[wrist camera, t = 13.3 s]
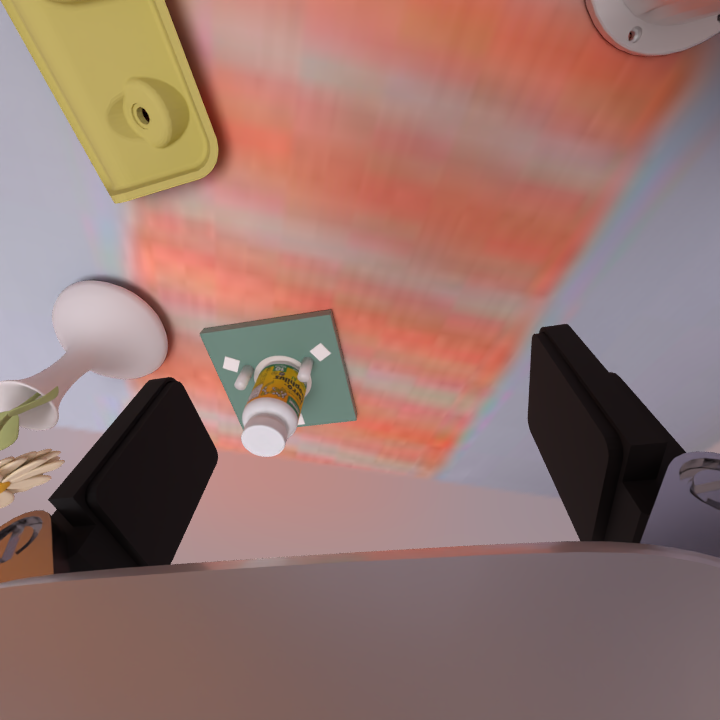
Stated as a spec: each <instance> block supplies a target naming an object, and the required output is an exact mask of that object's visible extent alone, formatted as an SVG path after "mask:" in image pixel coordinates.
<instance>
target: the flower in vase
mask: <svg viewBox="0 0 720 720" xmlns="http://www.w3.org/2000/svg"><path fill="white" fill-rule="evenodd" d="M52 322H53V326H54V330H55V333H56V335H57V338H58V340H59V342H60V344H61V345H62V347H63V348H64V350H65V351H66V353H65V354H64V356H62V357H61V358H60V359H59V360H58V361H57V362H55V363H54V364H53V365H51V366H50V367H48V368H47V369H45V370H43V371H41V372H40V373H38V374H36V375H34V376H31V377H29V378H26V379H22V380H6V381H1V382H0V450H3V449H5V448H7V447H9V446H10V445H12V444H13V443H14V442H15V441H16V439H17V437H18V432H19V426H20V427H23V428H26V429H30V430H37V431H43V430H48V429H51V428H53V427H54V426H55V425H56V424H57V422H58V419H59V413H58V408H59V404H60V402H61V399H62V398H63V396H64V395H65V393H66V392H67V391H68V389H69V388H70V387H71V386H72V385H73V384H74V383H75V382H76V381H77V380H78V379H79V378H80V377H81V376H82V375H84V374H85V373H86V372H88V371H92V372H94V373H97V374H99V375H103V376H106V377H111V378H117V379H136V378H140V377H143V376H146V375H148V374H150V373H152V372H154V371H155V370H157V369H158V368H159V367H160V366H161V365H162V364H163V362H164V360H165V358H166V355H167V351H168V340H167V335H166V332H165V329H164V326H163V324H162V322H161V320H160V318H159V317H158V315H157V314H156V313H155V311H154V310H153V309H152V308H151V307H150V306H149V305H148V304H147V303H146V302H145V301H144V300H143V299H141V298H140V297H139V296H137V295H136V294H134V293H133V292H131V291H129V290H127V289H125V288H123V287H120V286H117V285H114V284H111V283H107V282H103V281H94V280H90V281H81V282H77V283H74V284H72V285H70V286H68V287H66V288H65V289H64V290H63V291H62V292H61V293H60V295H59V296H58V298H57V300H56V302H55V304H54V307H53V311H52ZM51 451H52V449H46V450H42V451H39V452H36V451H34V452H30V453H26V454H23V455H21V456H18V457H16V458H14V457H8V458H5V459H2V460H0V508H3V507H6V506H7V505H9V504H10V503H12V502H13V501H14V493H17V492H23V491H27V490H29V489H31V488H32V487H34V486H38V485H42V484H44V483H46V482H48V481H49V480H50V479H51V476H48V475H43V473H46V472H49V471H53V470H55V469H57V468H59V467H60V466H61V465H62V464H63V463H64V462H65V461H64V460H59V459H60V457H58V456H57V455H59V454H60V453H61V452H60V451H52V452H51Z"/></svg>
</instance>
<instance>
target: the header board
mask: <svg viewBox="0 0 720 720" xmlns="http://www.w3.org/2000/svg"><path fill="white" fill-rule="evenodd" d="M200 336H201V338H202V340H203V343H204V345H205V347H206V349H207V351H208V354H209V356H210V358H211V360H212V362H213V365H214V367H215V369H216V371H217V373H218V376H219V378H220V380H221V382H222V384H223V387H224V389H225V391H226V393H227V395H228V398H229V400H230V402H231V404H232V406H233V409H234V411H235V413H236V415H237V417H238V420H239V422H240V424H241V426H242V428H243V430H244V425H243V421H242V414H243V411H244V408H245V406H246V403H247V401H248V399H249V396H250V394H251V392H252V390H253V387H254V385H255V383H256V380H257V378H258V376H259V374H260V372H261V370H262V369H263V368H264V367H265V366H266V365H268V364H269V363H272V362H278V361H279V362H288V363H291V364H293V365H295V366H297V367H298V368H300V369H299V373H298V376H297V378H298V380H299V381H300V382H307V389H306V393H305V397H304V401H303V405H302V409H301V413H300V417H299V421H298V425H297V427H302V426H311V425H320V424H329V423H338V422H347V421H356V420H357V411H356V407H355V403H354V399H353V395H352V391H351V387H350V383H349V379H348V375H347V370H346V366H345V362H344V358H343V354H342V350H341V346H340V342H339V338H338V334H337V330H336V325H335V321H334V317H333V313H332V309H330V310H324V311H317V312H311V313H304V314H297V315H291V316H284V317H277V318H271V319H264V320H257V321H251V322H244V323H238V324H231V325H224V326H218V327H211V328H204V329H203V330H202V332H201V333H200Z"/></svg>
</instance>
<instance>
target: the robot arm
mask: <svg viewBox="0 0 720 720" xmlns="http://www.w3.org/2000/svg"><path fill="white" fill-rule="evenodd" d="M585 1H586V6H587V9H588V11H589V14H590V16H591V18H592V21H593V23H594V25H595V26H596V28H597V29H598V31H599V32H600V33H601V35H602V36H603V37H604V39H606V40H607V41H608V42H610V43H611V44H612V45H613V46H615V47H616V48H617V49H620V50H622V51H625V52H627V53H630V54H632V55H640V56H648V57H649V56H658V55H667V54H671V53H675V52H680V51H684V50H686V49H688V48H691V47H693V46H696V45H698V44H700V43H703V42H704V41H706V40H708V39H709V38H711V37H712V36H714V35H716V34H717V33H719V32H720V0H585ZM718 14H719V17H718V19H717V16H718ZM629 32H631V33H632V37H631V39H630V40H628V35H629ZM528 424H529V428H530V431H531V434H532V436H533V438H534V440H535V442H536V445H537V447H538V449H539V451H540V453H541V456H542V458H543V460H544V462H545V464H546V467H547V469H548V471H549V473H550V475H551V478H552V480H553V482H554V484H555V486H556V488H557V491H558V493H559V495H560V497H561V499H562V502H563V504H564V506H565V508H566V510H567V513H568V515H569V517H570V519H571V521H572V524H573V526H574V528H575V530H576V532H577V535H578V536H579V539H580V541H578V542H576V541H574V542H573V541H572V542H570V541H566V542H541V543H518V544H495V545H473V546H457V547H440V548H424V549H406V550H389V551H374V552H373V551H372V552H355V553H339V554H323V555H308V556H292V557H277V558H262V559H246V560H232V561H217V562H202V563H187V564H174V565H170V564H171V562H172V560H173V558H174V555H175V553H176V551H177V549H178V547H179V545H180V542H181V540H182V538H183V536H184V534H185V531H186V529H187V527H188V525H189V523H190V521H191V518H192V516H193V514H194V511H195V510H196V507H197V505H198V503H199V501H200V499H201V497H202V494H203V492H204V490H205V488H206V486H207V483H208V481H209V479H210V477H211V475H212V473H213V470H214V468H215V466H216V464H217V460H218V453H217V450H216V448H215V446H214V444H213V442H212V440H211V438H210V436H209V434H208V432H207V430H206V428H205V427H204V425H203V423H202V421H201V419H200V417H199V415H198V413H197V411H196V409H195V407H194V405H193V403H192V402H191V400H190V398H189V396H188V394H187V392H186V390H185V388H184V386H183V385H182V383H180V382H178V381H176V380H175V379H174V378H171V377H168V378H161V379H153V380H149V381H148V382H147V383H146V384H145V385H144V387H143V388H142V389H141V390H140V391H139V392H138V394H137V395H136V396H135V397H134V398H133V400H132V401H131V402H130V403H129V404H128V406H127V407H126V408H125V409H124V410H123V411H122V413H121V414H120V415H119V416H118V417H117V419H116V420H115V421H114V422H113V423H112V424H111V426H110V427H109V428H108V429H107V430H106V432H105V433H104V434H103V435H102V436H101V438H100V439H99V440H98V441H97V442H96V443H95V445H94V446H93V447H92V448H91V449H90V451H89V452H88V453H87V454H86V455H85V457H84V458H83V459H82V460H81V461H80V463H79V464H78V465H77V466H76V467H75V468H74V470H73V471H72V472H71V473H70V474H69V475H68V477H67V478H66V479H65V480H64V481H63V483H62V484H61V485H60V486H59V487H58V489H57V490H56V491H55V492H54V493H53V494H52V496H51V497H50V498H49V499H48V500H49V501H50V502H51V503H52V504H53V505H54V507H56V509H57V510H56V511H55V512H54V514H53V515H52V516H51V515H50V514H49V513H48V512H45V511H43V510H36V511H31V512H28V513H24V514H22V515H20V516H18V517H15V518H13V519H11V520H10V521H8V522H7V523H5V524H3V525H2V526H0V720H720V454H717V453H713V452H699V451H696V452H690V453H686V452H685V451H684V450H683V449H682V447H681V446H680V445H679V444H678V443H677V442H676V441H675V439H674V438H673V437H672V436H671V435H670V434H669V432H668V431H667V430H666V429H665V428H664V427H663V426H662V424H661V423H660V422H659V421H658V420H657V419H656V418H655V416H654V415H653V414H652V413H651V412H650V411H649V410H648V408H647V407H646V406H645V405H644V404H643V403H642V402H641V400H640V399H639V398H638V397H637V396H636V395H635V394H634V392H633V391H632V390H631V389H630V388H629V387H628V386H627V384H626V383H625V382H624V381H623V380H622V379H621V378H620V377H619V376H618V375H617V374H616V373H612V372H610V373H609V372H608V371H607V370H606V368H605V367H604V366H603V365H602V364H601V363H600V361H599V360H598V359H597V358H596V357H595V356H594V354H593V353H592V352H591V351H590V350H589V348H588V347H587V346H586V345H585V344H584V343H583V341H582V340H581V339H580V338H579V337H578V335H577V334H576V333H575V332H574V331H573V330H572V328H571V327H570V326H569V325H568V324H562V325H555V326H548V327H542V328H541V329H540V332H539V334H534V335H533V337H532V346H531V365H530V384H529V404H528Z"/></svg>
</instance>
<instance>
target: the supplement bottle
mask: <svg viewBox="0 0 720 720" xmlns="http://www.w3.org/2000/svg"><path fill="white" fill-rule="evenodd" d="M299 369H300V368H298V367H297V366H295V365H293V364H291V363H288V362H279V361H278V362H272V363H269V364H268V365H266V366H265V367H264V368H263V369H262V370H261V372H260V374H259V376H258V378H257V380H256V383H255V385H254V387H253V390H252V392H251V394H250V396H249V399H248V401H247V403H246V406H245V408H244V411H243V414H242V421H243V425H244V430H243V432H242V436H241V440H242V443H243V445H244V447H245V448H246V449H247V450H248V451H250V452H251V453H253V454H255V455H258V456H263V457H271V456H275V455H277V454H279V453H280V452H281V451H282V450H283V449H284V447H285V444H286V441H287V439H288V438H289V437H291V436H292V435H293V434H294V432H295V430H296V428H297V425H298V421H299V417H300V413H301V409H302V405H303V401H304V397H305V393H306V389H307V382H300V381H299V380H298V378H297V376H298V373H299Z"/></svg>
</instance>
